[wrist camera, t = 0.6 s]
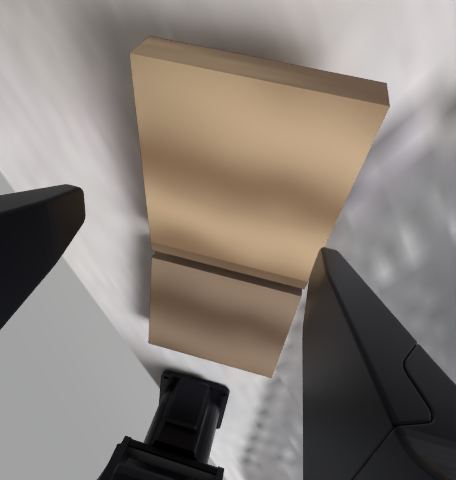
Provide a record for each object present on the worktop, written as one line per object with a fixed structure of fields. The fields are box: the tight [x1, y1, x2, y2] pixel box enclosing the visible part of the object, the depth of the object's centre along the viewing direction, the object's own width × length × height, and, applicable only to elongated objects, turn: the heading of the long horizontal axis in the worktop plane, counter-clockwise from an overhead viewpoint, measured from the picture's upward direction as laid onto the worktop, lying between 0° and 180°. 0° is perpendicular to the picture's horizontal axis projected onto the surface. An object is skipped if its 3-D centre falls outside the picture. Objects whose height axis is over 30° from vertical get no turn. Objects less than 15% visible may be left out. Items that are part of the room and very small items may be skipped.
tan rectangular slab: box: [130, 36, 390, 289], centre depth 18 cm, size 12×10×2 cm
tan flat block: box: [148, 251, 302, 378], centre depth 26 cm, size 9×10×2 cm
